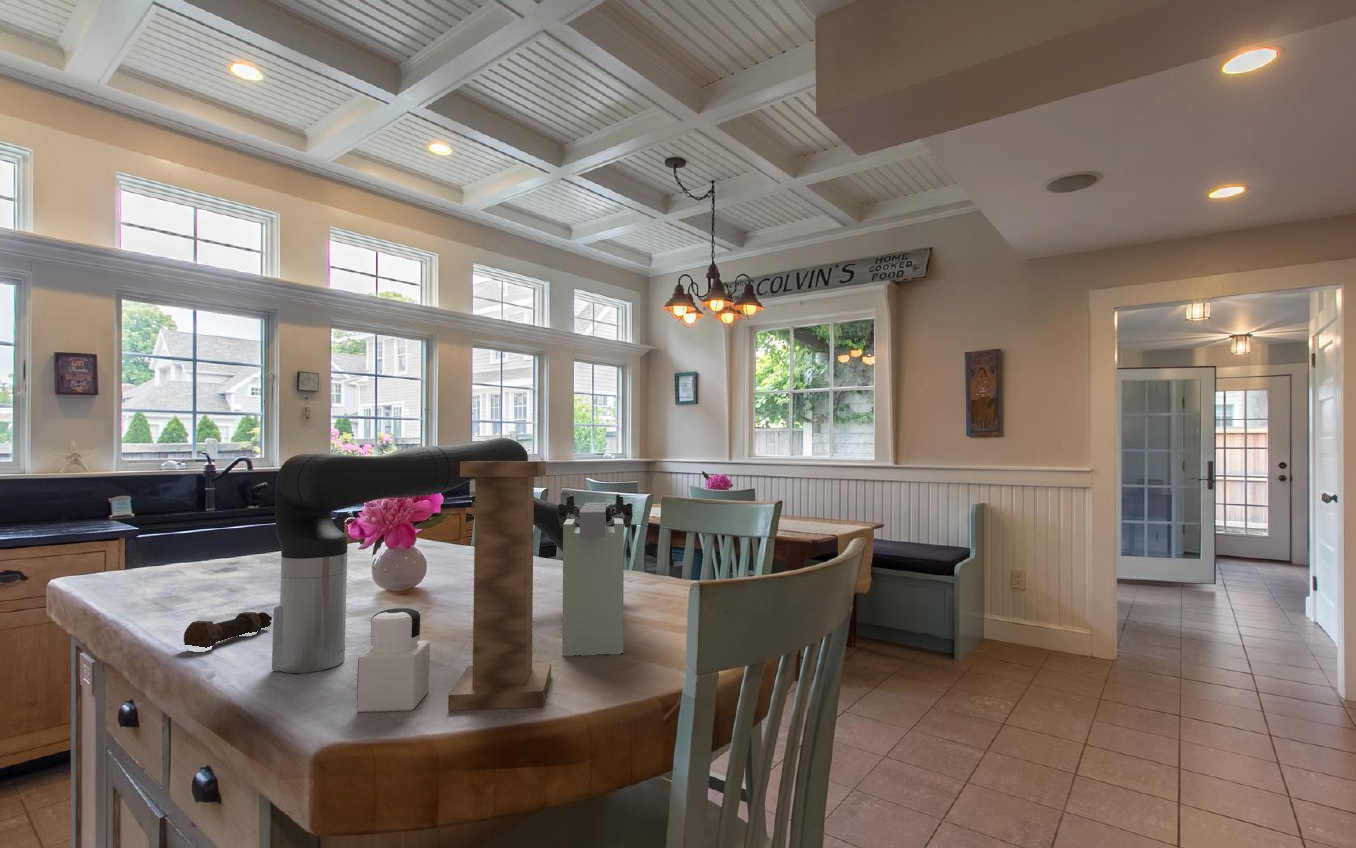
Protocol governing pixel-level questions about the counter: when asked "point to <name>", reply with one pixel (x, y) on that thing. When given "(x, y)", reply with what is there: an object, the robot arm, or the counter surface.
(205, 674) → the counter surface
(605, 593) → the grey tall block
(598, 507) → the brushed steel bar
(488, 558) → the tall column
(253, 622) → the bolt
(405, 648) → the medicine bottle
